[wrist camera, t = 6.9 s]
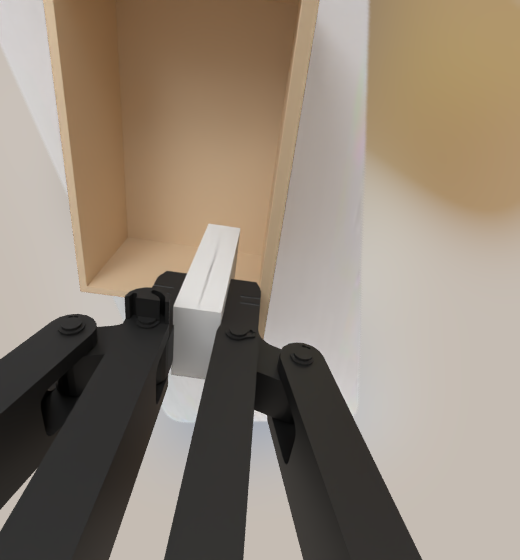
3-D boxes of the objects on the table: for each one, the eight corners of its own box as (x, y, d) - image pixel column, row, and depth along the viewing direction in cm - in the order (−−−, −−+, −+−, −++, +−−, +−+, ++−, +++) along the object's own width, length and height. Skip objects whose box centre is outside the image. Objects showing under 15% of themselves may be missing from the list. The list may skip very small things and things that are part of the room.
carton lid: (327, -166, 8) (346, -164, 8) (316, -26, 22) (323, -25, 22) (229, 493, 20) (237, 494, 20) (262, 316, 34) (266, 317, 34)
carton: (109, -32, 31) (34, -68, 22) (306, -2, 32) (316, -26, 22) (124, 239, 43) (80, 291, 34) (266, 258, 44) (262, 315, 34)
